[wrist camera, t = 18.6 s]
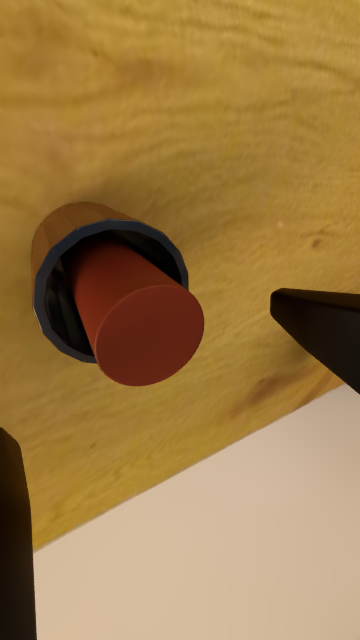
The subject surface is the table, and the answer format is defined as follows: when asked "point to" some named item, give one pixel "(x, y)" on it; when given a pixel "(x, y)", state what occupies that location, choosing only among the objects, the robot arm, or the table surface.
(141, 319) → the dowel
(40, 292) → the can
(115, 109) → the table surface
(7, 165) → the table surface
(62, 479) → the table surface
